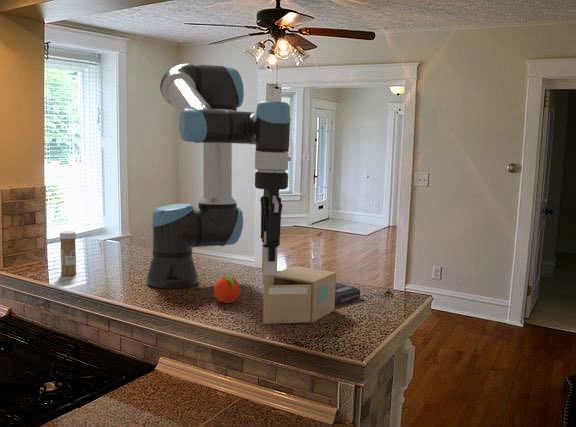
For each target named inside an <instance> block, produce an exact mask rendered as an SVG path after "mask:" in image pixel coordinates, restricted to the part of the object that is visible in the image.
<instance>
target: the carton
mask: <svg viewBox="0 0 576 427" xmlns="http://www.w3.org/2000/svg"><path fill="white" fill-rule="evenodd" d="M336 275H337V273H336V271H329V270H323V269H317V268H310V267H304V266H299V265H293V266H291V267H289V268H286V269H282V270H280V271H277V272H276V275H274V282H273V285H312V286H311V315H310V322H309V323H312V324H313V323H315V322H316V321H318V320H320V319H322V318H324V317H325V316H327V315H328V314H330V313H333V312H334V311H335V307H336V306H335V283H337V282H336V279H337V278H336V277H337V276H336Z"/></svg>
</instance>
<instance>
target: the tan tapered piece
mask: <svg viewBox="0 0 576 427" xmlns="http://www.w3.org/2000/svg"><path fill="white" fill-rule="evenodd" d="M263 244H264V245H266V231H265V232H264V243H263ZM264 262H265V247H264V256H263V272H262V282H263V309H262V310H263V314H262V315H263V316H262V319H263V321H262V324H263V325H264V324H267V325H269V324H293V323H294V324H296V323H300V324H301V323H311V322H310V315H311V286H312V285H273V282H274V275H264Z"/></svg>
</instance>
